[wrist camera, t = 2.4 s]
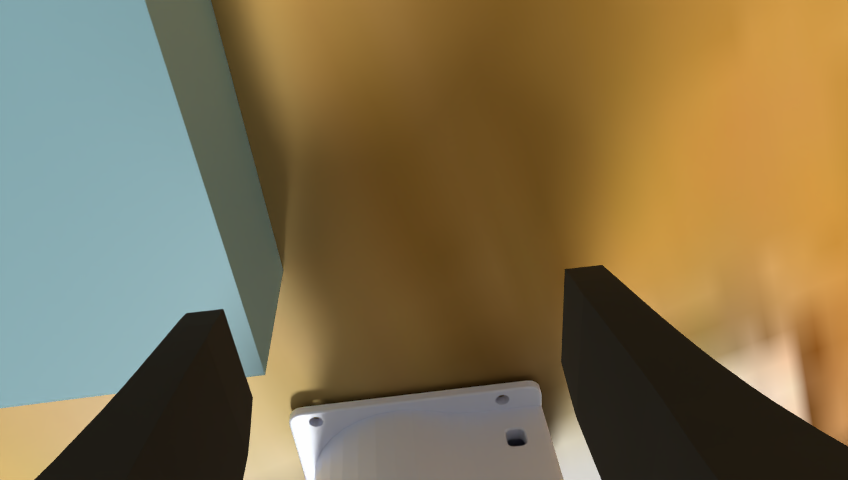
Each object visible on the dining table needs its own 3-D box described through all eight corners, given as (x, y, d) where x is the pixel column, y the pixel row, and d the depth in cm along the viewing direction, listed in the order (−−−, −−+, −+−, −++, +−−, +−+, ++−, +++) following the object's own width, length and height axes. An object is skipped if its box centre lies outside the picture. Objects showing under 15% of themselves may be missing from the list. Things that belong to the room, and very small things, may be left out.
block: (196, -63, 16) (138, -19, 12) (283, 265, 22) (264, 375, 18) (-130, -24, 16) (-301, 34, 12) (41, 296, 22) (-36, 413, 17)
